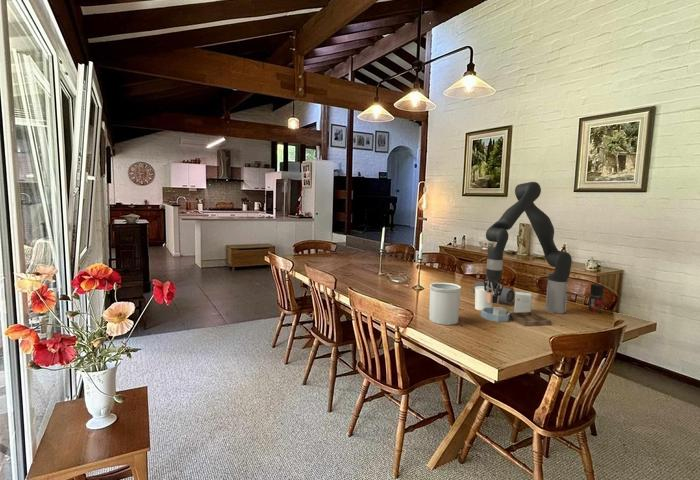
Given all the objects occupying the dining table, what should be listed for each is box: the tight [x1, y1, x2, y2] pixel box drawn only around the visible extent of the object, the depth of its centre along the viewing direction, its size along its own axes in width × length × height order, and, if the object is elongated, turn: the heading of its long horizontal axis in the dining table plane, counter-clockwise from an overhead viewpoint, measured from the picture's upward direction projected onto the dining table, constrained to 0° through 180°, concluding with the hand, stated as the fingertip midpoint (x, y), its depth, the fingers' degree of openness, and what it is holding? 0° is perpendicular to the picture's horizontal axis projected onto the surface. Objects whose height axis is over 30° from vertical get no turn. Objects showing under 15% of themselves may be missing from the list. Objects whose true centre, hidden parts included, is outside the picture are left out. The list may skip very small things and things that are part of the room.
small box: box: [513, 291, 533, 312], centre depth 201 cm, size 8×6×10 cm
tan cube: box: [485, 292, 499, 304], centre depth 188 cm, size 4×4×4 cm
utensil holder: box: [428, 282, 462, 326], centre depth 183 cm, size 15×15×18 cm
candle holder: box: [474, 286, 493, 312], centre depth 204 cm, size 10×10×12 cm
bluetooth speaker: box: [472, 281, 516, 304], centre depth 222 cm, size 23×9×10 cm, turn 34°
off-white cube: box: [493, 306, 508, 315], centre depth 190 cm, size 4×4×4 cm
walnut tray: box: [509, 311, 552, 327], centre depth 186 cm, size 14×14×3 cm
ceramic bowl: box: [480, 306, 511, 323], centre depth 190 cm, size 13×13×4 cm
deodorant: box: [587, 283, 605, 314], centre depth 206 cm, size 6×6×15 cm
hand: (491, 301), depth 188 cm, fingers closed on tan cube, 4 cm apart
